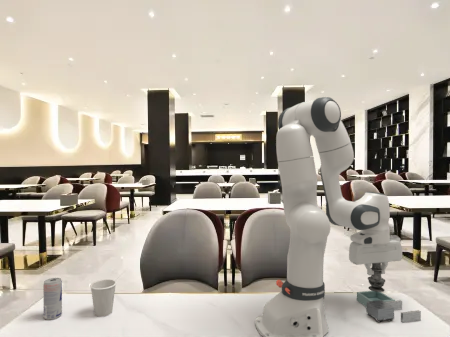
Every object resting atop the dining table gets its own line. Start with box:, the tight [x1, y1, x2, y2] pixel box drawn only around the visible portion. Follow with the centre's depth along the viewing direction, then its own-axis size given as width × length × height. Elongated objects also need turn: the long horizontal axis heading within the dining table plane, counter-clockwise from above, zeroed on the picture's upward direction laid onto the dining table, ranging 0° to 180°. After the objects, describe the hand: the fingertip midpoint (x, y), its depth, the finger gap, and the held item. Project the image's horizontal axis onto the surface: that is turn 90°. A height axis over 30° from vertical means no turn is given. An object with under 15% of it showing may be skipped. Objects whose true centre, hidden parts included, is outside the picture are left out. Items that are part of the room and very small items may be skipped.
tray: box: [356, 290, 396, 308], centre depth 114 cm, size 9×9×3 cm
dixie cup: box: [89, 279, 117, 318], centre depth 106 cm, size 8×8×10 cm
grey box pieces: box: [366, 299, 422, 324], centre depth 105 cm, size 15×9×4 cm, turn 103°
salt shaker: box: [367, 263, 386, 293], centre depth 114 cm, size 6×6×12 cm
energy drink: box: [42, 277, 63, 321], centre depth 104 cm, size 5×5×12 cm
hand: (376, 274), depth 114 cm, fingers closed on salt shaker, 3 cm apart
